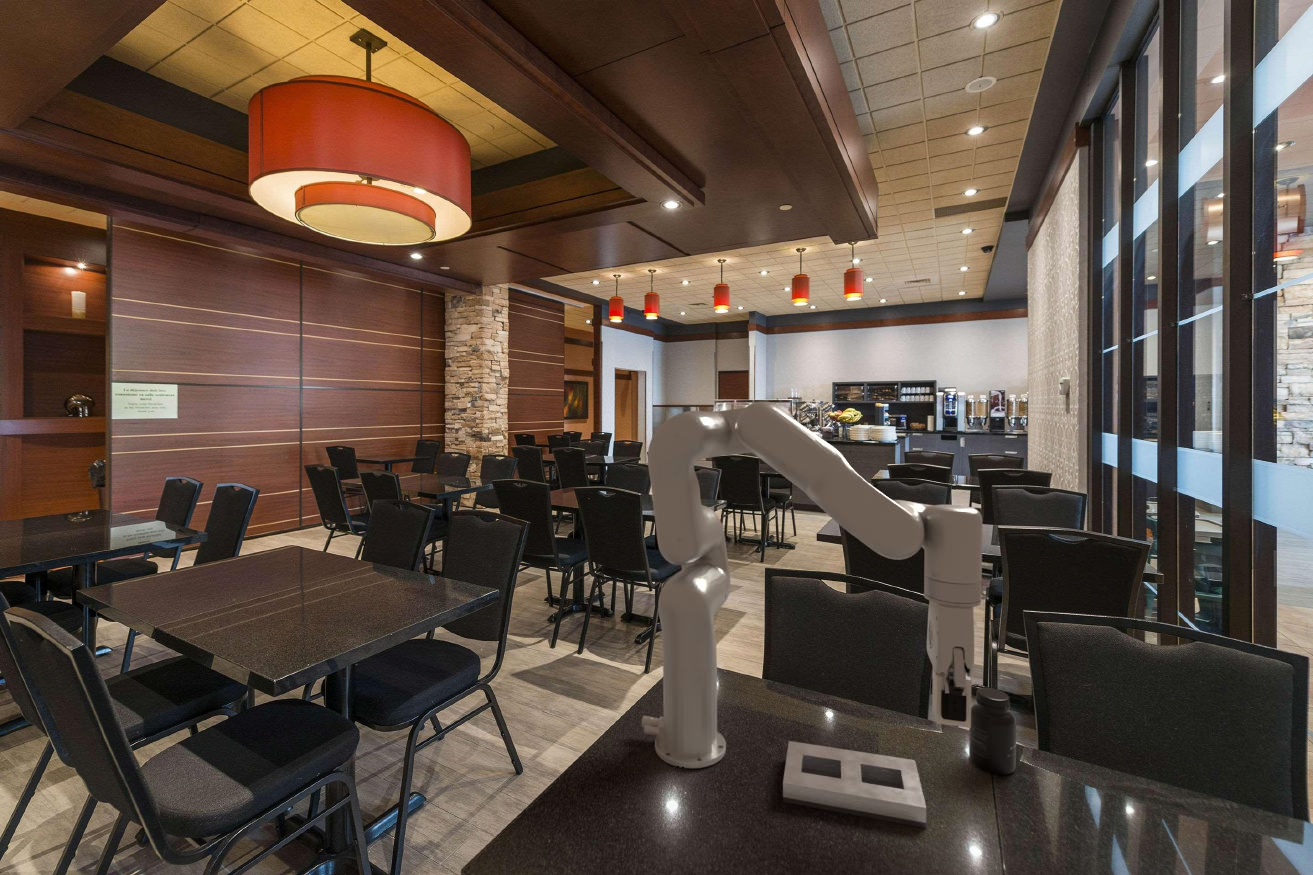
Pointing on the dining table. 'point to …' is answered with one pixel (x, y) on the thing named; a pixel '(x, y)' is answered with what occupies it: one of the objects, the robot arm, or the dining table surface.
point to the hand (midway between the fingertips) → (950, 711)
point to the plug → (936, 700)
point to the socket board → (854, 783)
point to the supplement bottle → (992, 732)
